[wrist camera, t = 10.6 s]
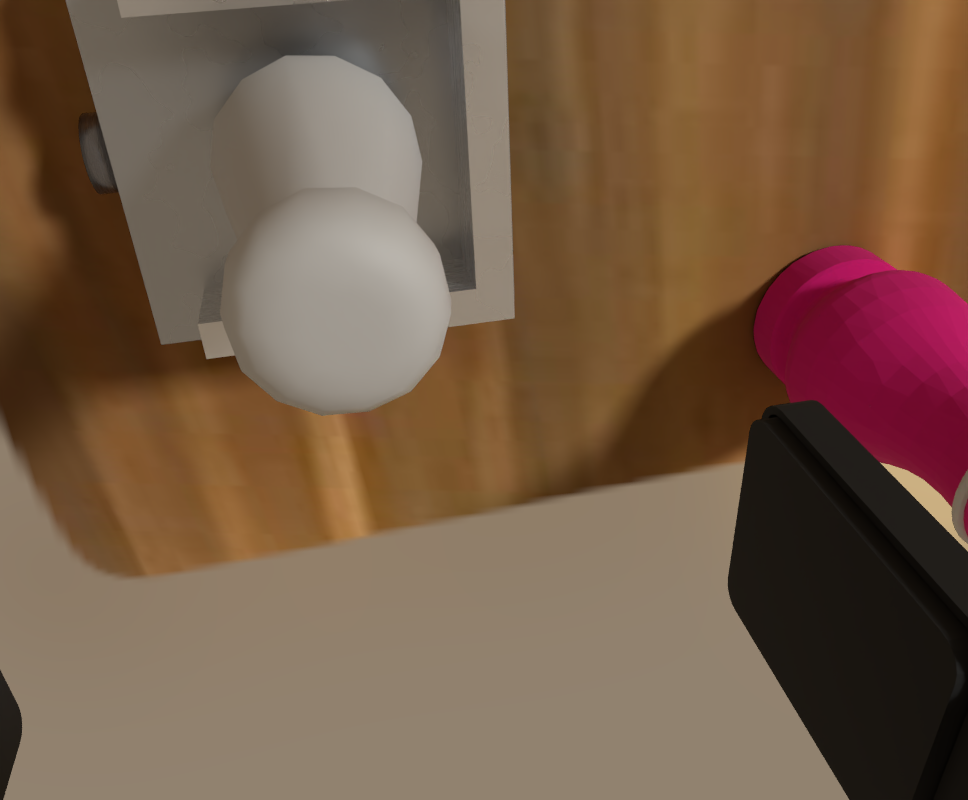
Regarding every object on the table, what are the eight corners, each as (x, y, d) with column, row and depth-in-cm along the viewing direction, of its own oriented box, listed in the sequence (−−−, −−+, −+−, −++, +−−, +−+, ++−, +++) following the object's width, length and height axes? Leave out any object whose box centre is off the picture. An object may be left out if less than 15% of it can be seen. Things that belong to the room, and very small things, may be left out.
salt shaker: (228, 234, 27) (192, 479, 16) (202, 40, 24) (138, 182, 13) (412, 227, 28) (494, 452, 18) (410, 39, 25) (506, 171, 15)
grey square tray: (41, -70, 25) (-13, -55, 20) (481, -98, 27) (523, -90, 22) (148, 309, 31) (124, 385, 27) (496, 265, 33) (531, 331, 28)
